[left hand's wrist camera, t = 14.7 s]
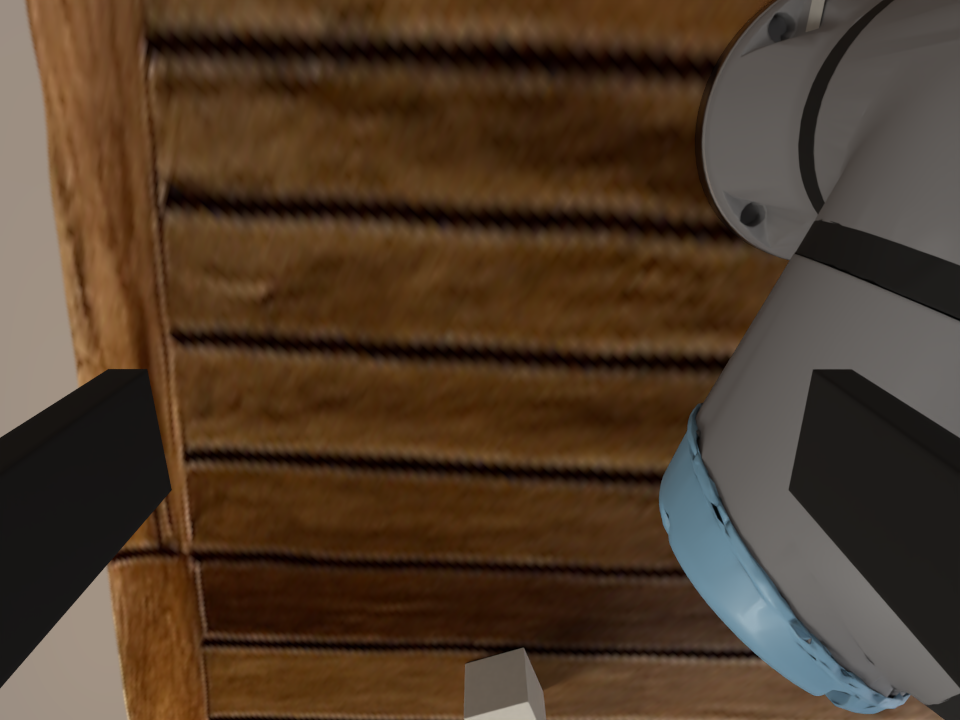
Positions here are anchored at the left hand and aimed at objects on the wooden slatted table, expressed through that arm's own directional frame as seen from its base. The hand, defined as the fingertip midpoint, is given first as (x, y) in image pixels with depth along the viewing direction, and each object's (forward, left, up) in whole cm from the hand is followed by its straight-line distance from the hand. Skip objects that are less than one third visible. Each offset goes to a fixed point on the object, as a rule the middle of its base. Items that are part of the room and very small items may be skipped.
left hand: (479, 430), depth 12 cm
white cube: (-2, +36, -27) cm, 45 cm away
